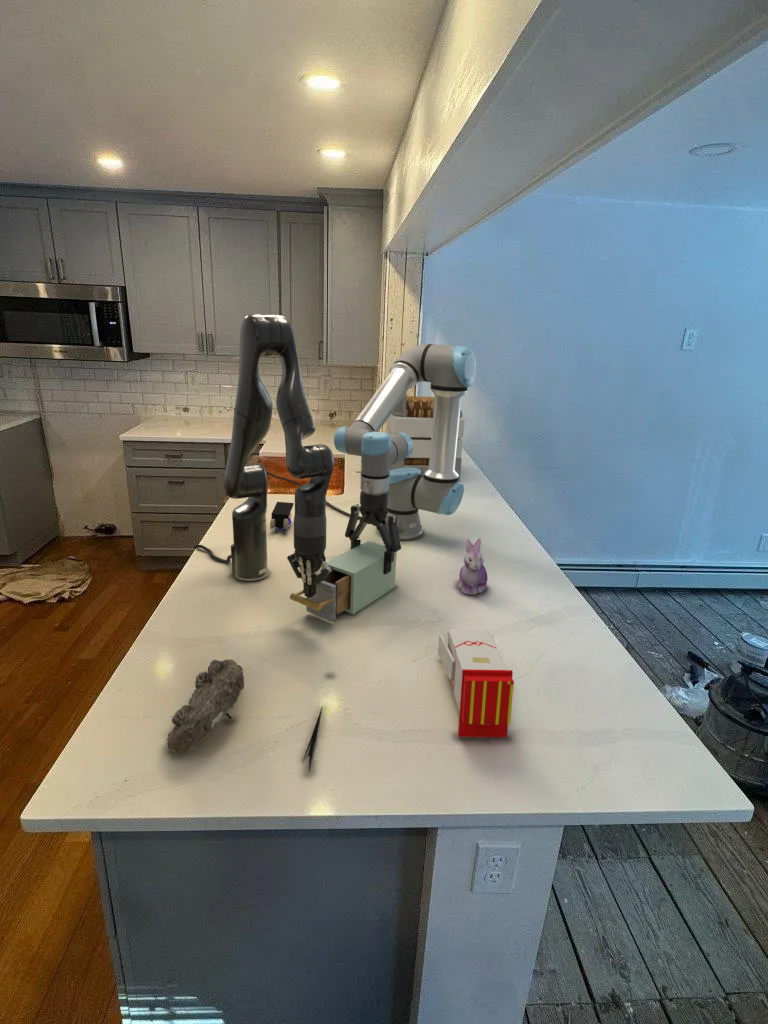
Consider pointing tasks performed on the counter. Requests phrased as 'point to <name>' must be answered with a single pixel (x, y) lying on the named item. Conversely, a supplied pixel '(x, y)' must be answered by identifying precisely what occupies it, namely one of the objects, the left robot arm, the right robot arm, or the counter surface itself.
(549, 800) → the counter surface
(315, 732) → the feather
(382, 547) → the cabinet
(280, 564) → the counter surface
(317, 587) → the drawer
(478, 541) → the figurine
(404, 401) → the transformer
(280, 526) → the figurine character
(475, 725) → the toy
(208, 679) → the fossil
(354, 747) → the counter surface
